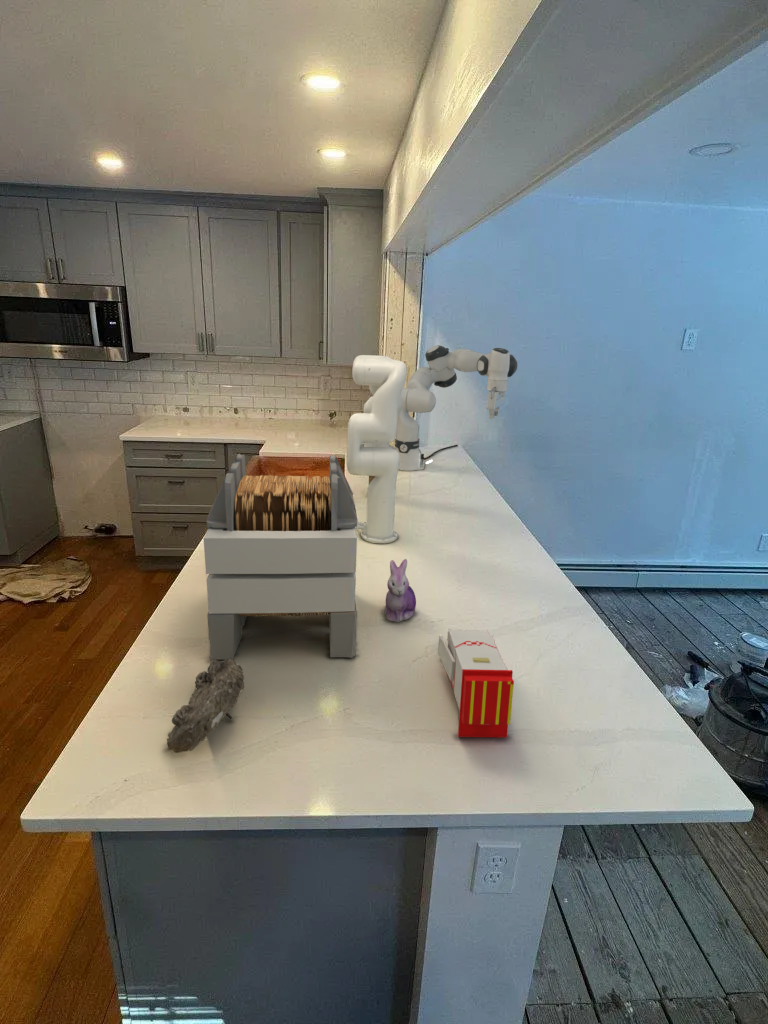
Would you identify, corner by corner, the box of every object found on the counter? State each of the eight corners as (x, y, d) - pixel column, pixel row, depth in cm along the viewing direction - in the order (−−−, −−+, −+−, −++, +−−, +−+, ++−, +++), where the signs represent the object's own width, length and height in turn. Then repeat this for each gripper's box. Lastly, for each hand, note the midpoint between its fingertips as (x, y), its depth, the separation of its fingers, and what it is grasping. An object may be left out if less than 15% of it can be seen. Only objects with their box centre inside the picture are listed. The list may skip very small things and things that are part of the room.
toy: (488, 613, 130) (523, 677, 101) (484, 667, 133) (517, 744, 104) (435, 612, 130) (455, 676, 101) (432, 666, 133) (451, 743, 103)
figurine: (392, 627, 141) (395, 572, 136) (374, 608, 149) (376, 556, 144) (425, 619, 145) (429, 566, 140) (405, 601, 154) (408, 550, 149)
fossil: (192, 660, 117) (244, 628, 112) (224, 691, 120) (276, 661, 115) (142, 746, 98) (202, 712, 93) (182, 779, 101) (242, 748, 96)
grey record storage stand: (230, 589, 156) (222, 444, 142) (349, 588, 159) (352, 446, 146) (207, 662, 124) (194, 484, 110) (356, 658, 128) (362, 486, 114)
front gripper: (356, 429, 225) (355, 470, 231) (399, 429, 228) (397, 470, 234) (354, 425, 232) (353, 465, 238) (396, 425, 235) (393, 465, 241)
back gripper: (499, 389, 242) (495, 421, 247) (508, 384, 260) (504, 414, 265) (484, 388, 244) (481, 420, 249) (494, 383, 262) (491, 413, 267)
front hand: (375, 467), depth 236 cm, fingers open, 9 cm apart
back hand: (493, 417), depth 257 cm, fingers open, 8 cm apart
